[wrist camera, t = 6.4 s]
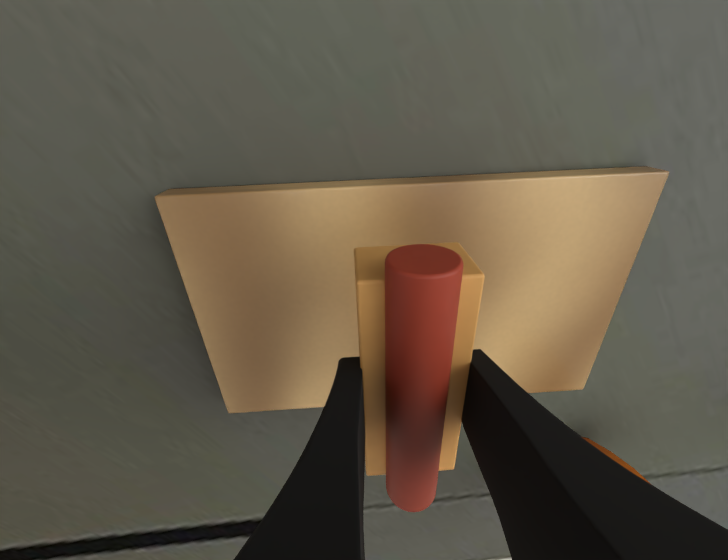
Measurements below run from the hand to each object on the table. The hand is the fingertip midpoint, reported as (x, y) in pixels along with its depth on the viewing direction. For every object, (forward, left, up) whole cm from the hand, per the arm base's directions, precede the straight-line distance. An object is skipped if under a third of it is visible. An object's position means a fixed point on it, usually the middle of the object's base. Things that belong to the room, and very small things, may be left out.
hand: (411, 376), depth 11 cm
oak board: (+1, -1, -6) cm, 6 cm away
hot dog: (0, 0, -1) cm, 1 cm away
